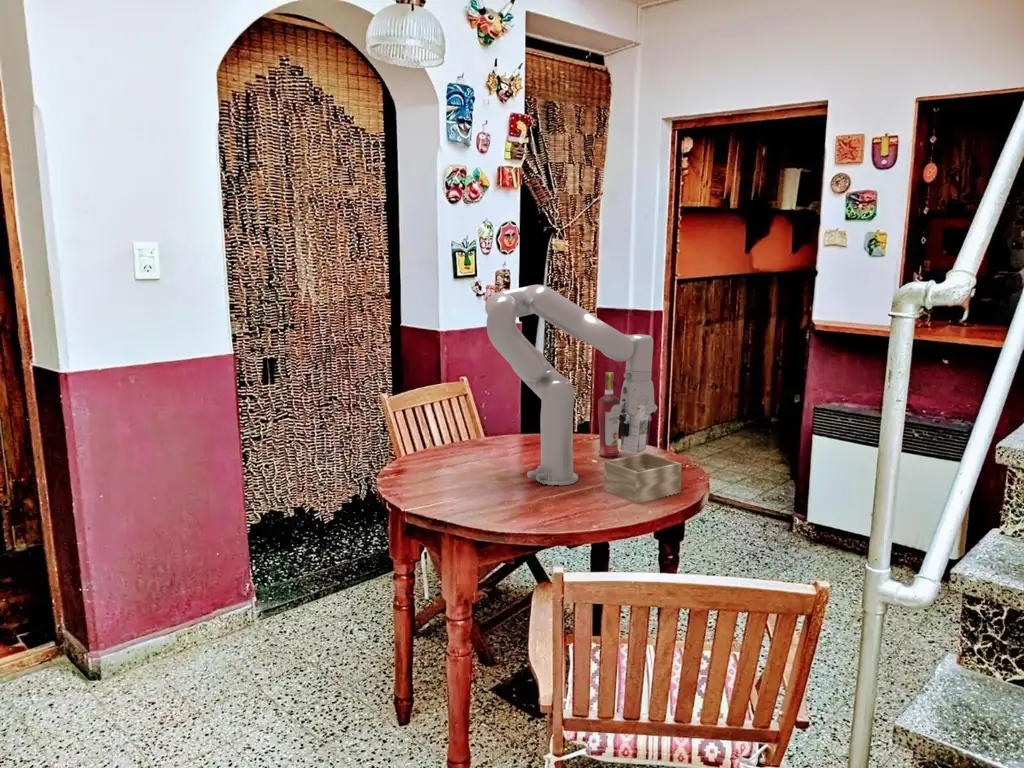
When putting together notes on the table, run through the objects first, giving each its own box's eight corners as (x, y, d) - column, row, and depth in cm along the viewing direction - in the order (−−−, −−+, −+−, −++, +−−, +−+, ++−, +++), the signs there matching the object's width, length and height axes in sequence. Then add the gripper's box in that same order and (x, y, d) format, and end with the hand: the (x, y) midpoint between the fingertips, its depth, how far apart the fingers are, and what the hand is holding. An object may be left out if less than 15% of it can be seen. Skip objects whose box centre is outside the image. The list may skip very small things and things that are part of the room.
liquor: (610, 451, 253) (610, 370, 248) (624, 456, 247) (625, 373, 242) (593, 455, 249) (593, 372, 245) (607, 459, 243) (607, 375, 239)
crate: (637, 503, 200) (638, 473, 199) (604, 490, 212) (604, 461, 210) (680, 492, 209) (681, 463, 207) (646, 480, 220) (646, 452, 219)
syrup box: (629, 446, 229) (631, 400, 226) (646, 449, 225) (649, 402, 223) (620, 449, 224) (623, 402, 222) (638, 453, 221) (641, 405, 218)
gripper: (624, 379, 213) (620, 440, 216) (668, 376, 223) (664, 434, 225) (607, 375, 220) (603, 434, 222) (651, 373, 229) (647, 429, 232)
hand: (634, 434), depth 224 cm, fingers closed on syrup box, 7 cm apart
